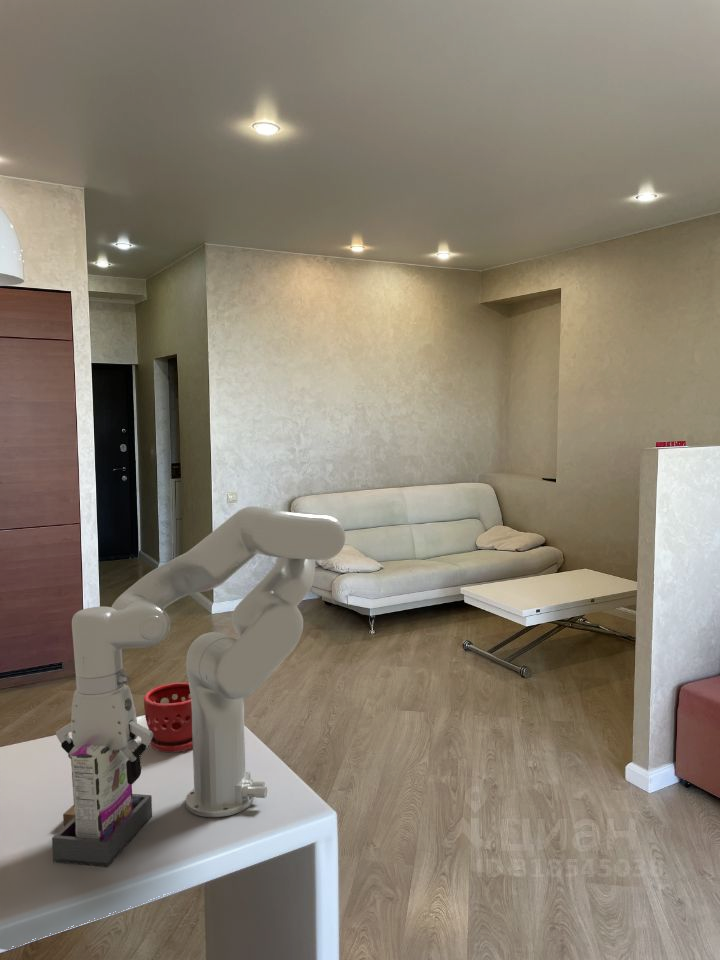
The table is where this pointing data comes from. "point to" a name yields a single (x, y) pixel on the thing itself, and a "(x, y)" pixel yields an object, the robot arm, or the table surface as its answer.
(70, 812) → the door edge rail
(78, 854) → the keeper
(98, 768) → the candy bar box
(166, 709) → the plant pot
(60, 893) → the table surface
